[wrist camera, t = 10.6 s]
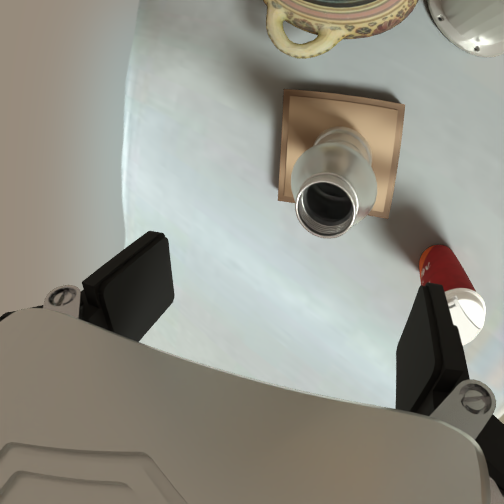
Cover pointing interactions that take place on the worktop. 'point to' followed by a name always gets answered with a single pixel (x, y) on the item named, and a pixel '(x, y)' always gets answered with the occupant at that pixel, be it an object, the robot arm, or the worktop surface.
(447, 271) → the paper cup
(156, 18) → the worktop surface
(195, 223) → the worktop surface
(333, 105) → the plinth
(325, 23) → the ceramic bowl
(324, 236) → the plastic bottle
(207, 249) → the worktop surface
